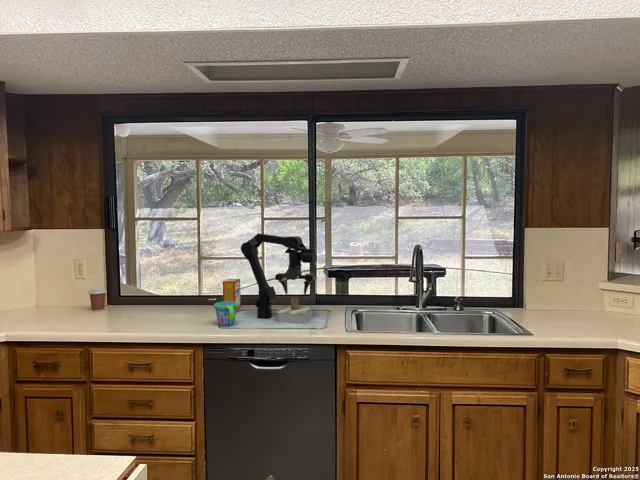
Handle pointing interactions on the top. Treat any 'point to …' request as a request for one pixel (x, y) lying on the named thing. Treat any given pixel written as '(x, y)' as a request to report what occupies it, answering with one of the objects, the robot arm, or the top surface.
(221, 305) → the snack cup
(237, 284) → the baking soda box
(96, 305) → the coffee cup
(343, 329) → the top surface
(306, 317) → the bin
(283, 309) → the lid
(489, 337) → the top surface
